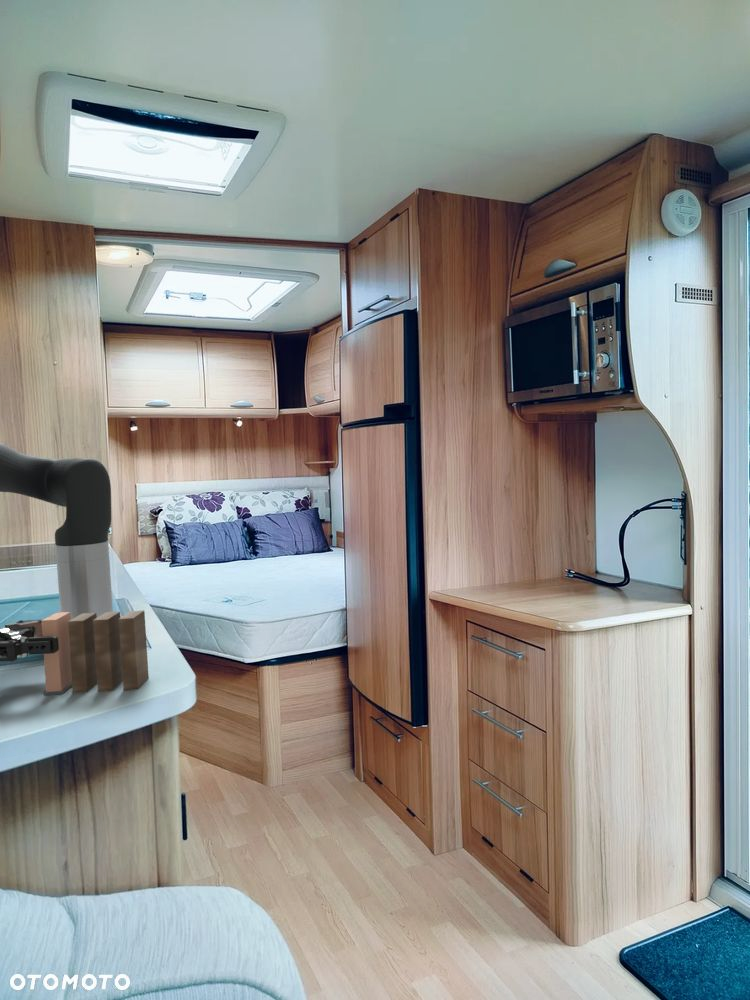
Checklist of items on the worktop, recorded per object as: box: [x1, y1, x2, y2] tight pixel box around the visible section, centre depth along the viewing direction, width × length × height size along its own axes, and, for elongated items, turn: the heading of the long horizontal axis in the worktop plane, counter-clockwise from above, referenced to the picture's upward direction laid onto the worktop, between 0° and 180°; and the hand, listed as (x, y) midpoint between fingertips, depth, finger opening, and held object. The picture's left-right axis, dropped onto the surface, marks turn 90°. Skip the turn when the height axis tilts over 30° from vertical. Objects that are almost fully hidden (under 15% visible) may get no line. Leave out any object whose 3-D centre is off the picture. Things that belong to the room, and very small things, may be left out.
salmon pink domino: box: [41, 612, 72, 692], centre depth 97 cm, size 2×5×10 cm, turn 3°
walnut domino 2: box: [93, 611, 123, 692], centre depth 97 cm, size 2×5×10 cm, turn 2°
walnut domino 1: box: [68, 613, 97, 694], centre depth 97 cm, size 2×5×10 cm, turn 2°
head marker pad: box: [43, 683, 72, 696], centre depth 97 cm, size 3×6×1 cm, turn 2°
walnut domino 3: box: [119, 609, 150, 691], centre depth 97 cm, size 2×5×10 cm, turn 2°
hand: (70, 636), depth 97 cm, fingers open, 8 cm apart
